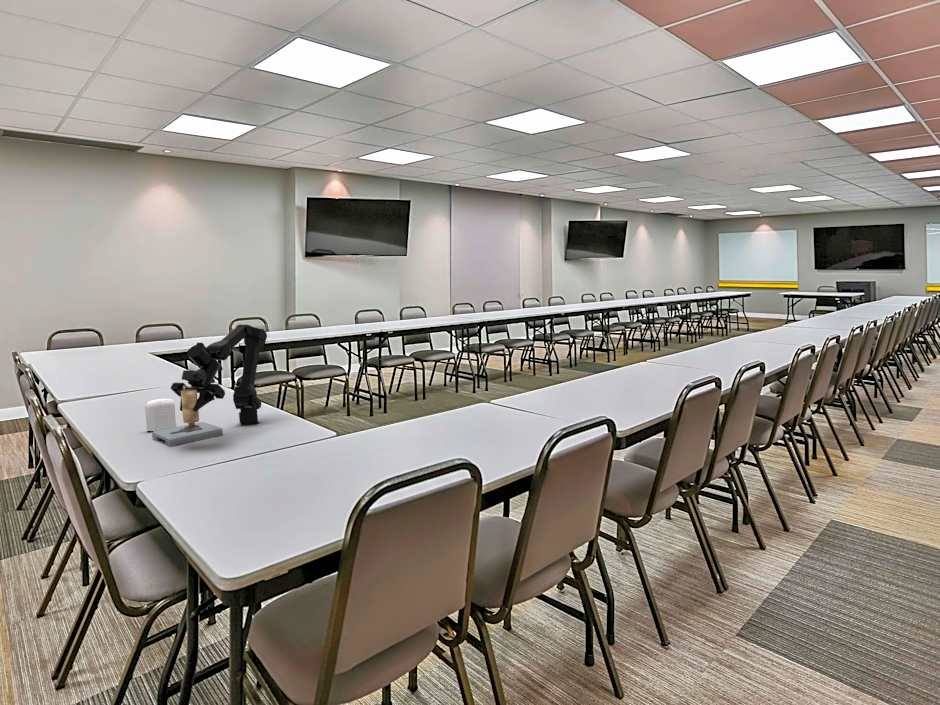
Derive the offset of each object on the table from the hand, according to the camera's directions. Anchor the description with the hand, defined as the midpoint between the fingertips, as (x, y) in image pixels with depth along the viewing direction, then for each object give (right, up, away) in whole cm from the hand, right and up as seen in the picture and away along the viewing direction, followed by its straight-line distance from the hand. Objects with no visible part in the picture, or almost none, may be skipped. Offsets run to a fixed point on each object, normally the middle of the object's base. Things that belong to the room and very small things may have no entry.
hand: (187, 410), depth 201 cm
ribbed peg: (0, -7, +2) cm, 7 cm away
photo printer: (-23, -10, +27) cm, 37 cm away
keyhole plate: (-8, -11, +17) cm, 22 cm away
